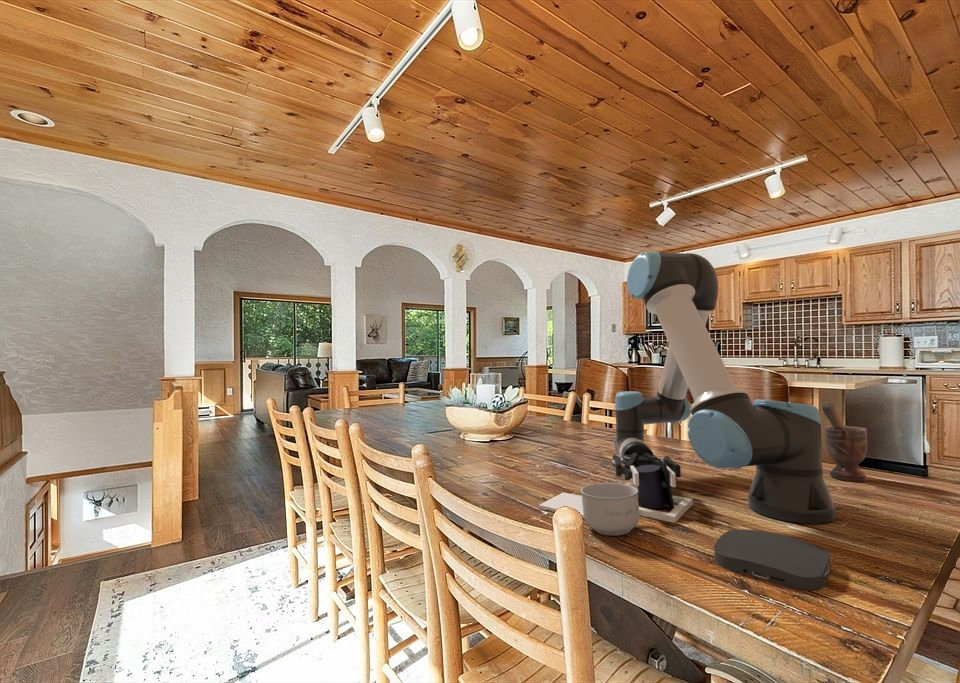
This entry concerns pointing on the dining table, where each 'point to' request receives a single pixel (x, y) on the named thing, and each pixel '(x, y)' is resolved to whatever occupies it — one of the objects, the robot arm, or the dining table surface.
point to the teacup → (611, 507)
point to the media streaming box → (774, 558)
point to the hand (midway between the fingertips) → (655, 480)
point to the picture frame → (674, 514)
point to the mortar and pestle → (845, 446)
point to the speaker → (654, 486)
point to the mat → (564, 502)
